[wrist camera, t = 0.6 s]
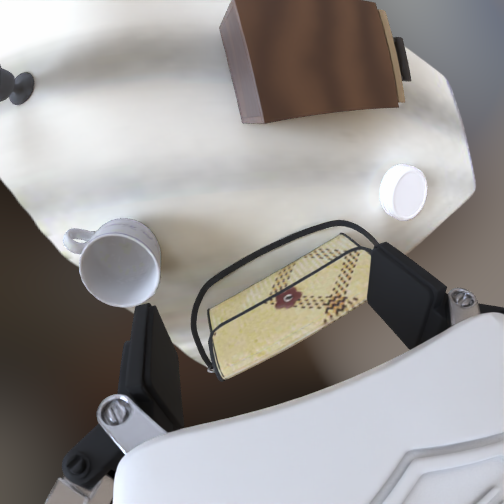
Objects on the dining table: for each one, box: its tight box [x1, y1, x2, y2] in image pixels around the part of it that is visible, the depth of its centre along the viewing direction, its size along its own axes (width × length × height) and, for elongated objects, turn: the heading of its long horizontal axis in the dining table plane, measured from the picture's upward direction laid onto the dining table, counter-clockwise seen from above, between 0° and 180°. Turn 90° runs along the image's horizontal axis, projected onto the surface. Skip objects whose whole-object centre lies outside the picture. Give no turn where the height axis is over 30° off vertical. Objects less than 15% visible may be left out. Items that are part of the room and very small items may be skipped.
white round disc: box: [379, 164, 427, 221], centre depth 43 cm, size 10×10×4 cm
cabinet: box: [219, 0, 399, 124], centre depth 27 cm, size 18×15×11 cm
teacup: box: [63, 218, 161, 307], centre depth 34 cm, size 14×11×8 cm
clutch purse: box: [191, 220, 379, 381], centre depth 38 cm, size 30×7×15 cm, turn 117°
